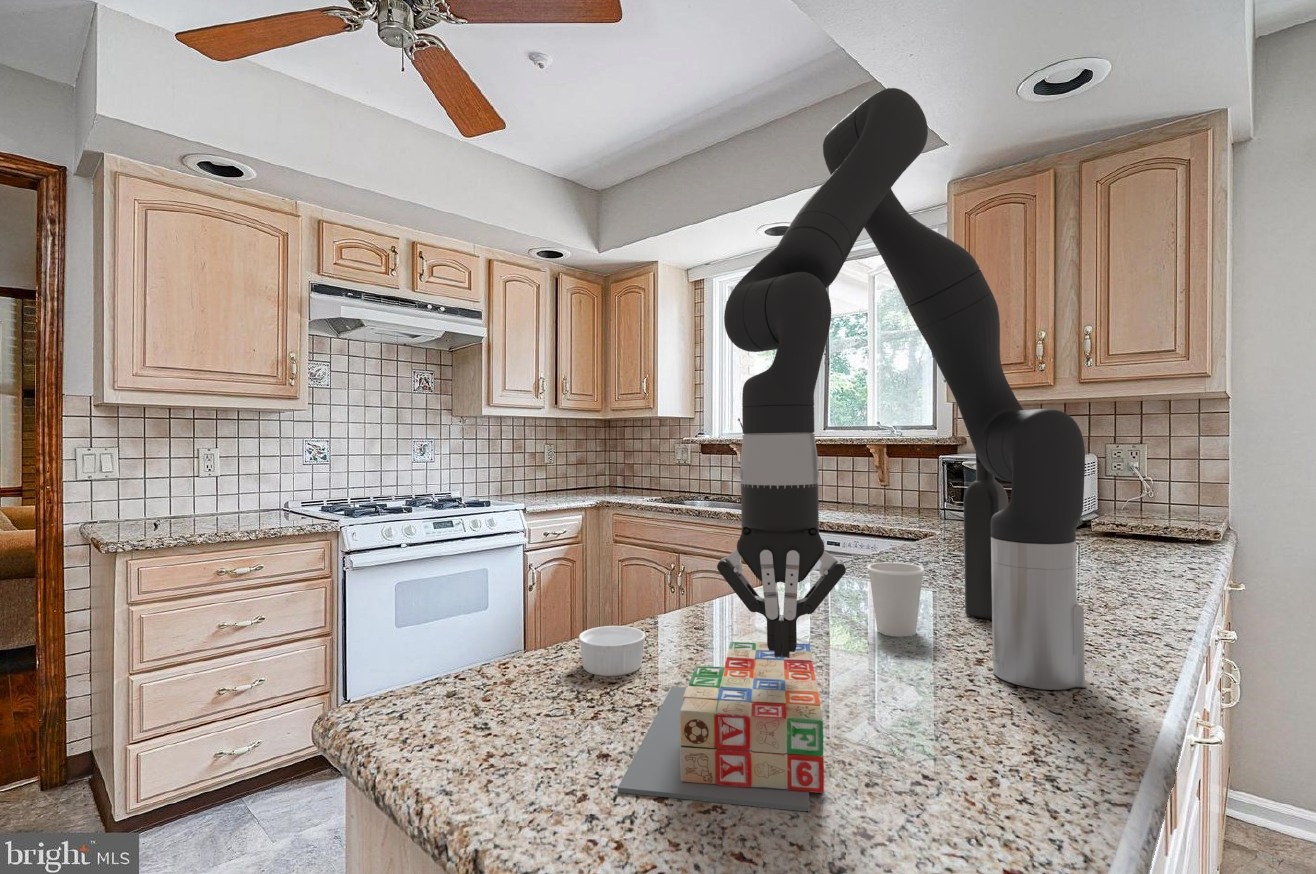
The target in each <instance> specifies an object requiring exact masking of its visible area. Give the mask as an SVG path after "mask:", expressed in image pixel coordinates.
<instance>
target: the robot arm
mask: <svg viewBox="0 0 1316 874" xmlns="http://www.w3.org/2000/svg"><path fill="white" fill-rule="evenodd" d="M928 127H929V126H928V123H927V118H926V116H925V113H924V110H923V109H922V107H921V106H920V104H919V103H918V101H917V100H916V99H915V98H914V97H913V96H912V95H911V94H909V93H908V92H907V91H905V90H903V89H900V88H897V87H888V88H884V89H880V90H879V91H877V92H875V93H874V94H872V95H870V96H869V97H867V98H866V99H865V100H864V101H862V102H861V103H860V104H859V105H858V106H856V107H855V108H854V109H853V110H851V111H850V112H849V113H848V114H847V115H845V117H843V118H842V119H841V120H840V121H839V122H837V124H835V125H834V126H833V127H831V129H830V130H829V131H828V132H827V133H826V135H825V137H824V138H823V142H822V143H823V144H822V155H823V158H824V161H825V165H826V167H827V169H828V172H829V174H830V175H829V177H828V178H827V179H826V180H825V181H824V182H823V183H822V185H821V186H820V187H819V188H817V190H816V191H815V192H814V193H813V194H812V195H811V196H810V198H809V199H808V200H807V201H806V202H804V203H805V204H803V205H802V207H801V209H800V210H799V212H798V213H797V214H796V216H794V219H793V220H792V221H791V223H790V224H789V226H788V228H787V229H786V231H785V233H784V234H783V236H782V237H781V239H780V240H779V243H778V245H776V247H775V248H774V249H773V250H772V251H770V252H769V253H768V254H767V255H765V256H764V257H763V258H761V260H760V261H758V262H757V263H756V265H755V266H754V267H752V268H751V269H750V270H749V271H748V272H747V273H746V274H744V275H743V276H742V278H741V279H740V280H739V281H738V282H737V284H736V285H735V286H734V288H733V290H732V291H731V292H730V294H729V297H728V298H727V302H726V304H725V308H724V313H723V314H724V316H723V320H724V321H723V322H724V323H723V324H724V329H725V332H726V335H727V336H728V339H729V340H730V341H731V343H732V344H733V345H735V346H736V347H737V348H738V349H740V350H743V351H745V352H748V353H749V352H750V353H757V352H758V353H760V352H768V351H776V352H775V355H774V359H773V361H772V363H771V365H770V367H769V368H768V369H766V370H764V371H762V372H760V373H758V374H757V373H756V374H755V375H753V376H751V377H749V378H748V379H747V380H746V381H745V382H744V384H743V387H742V394H741V395H742V397H741V399H742V400H741V402H742V403H741V405H742V406H741V407H742V409H741V410H742V411H741V412H742V413H741V415H742V417H741V418H742V442H741V443H742V444H741V450H740V469H739V479H740V503H741V505H740V506H741V507H740V508H741V512H740V513H741V533H740V537H739V539H738V540H737V542H736V549H734V550H733V551H732V552H731V553H730V554H729V555H727V556H724V557H722V558H721V559H720V560H719V561H718V563H717V565H716V569H717V571H718V573H720V575H721V576H722V578H723V579H724V580H725V581H726V583H727V584H728V586H730V588H732V590H733V592H734V593H735V594H736V595H737V596H738V598H739V600H740V601H741V602H742V603H743V605H745V606H746V608H747V609H748V611H749V612H751V613H758V614H761V615H762V616H764V618H765V620H766V642H767V646H768V649H769V651H774V657H783V658H789V657H790V652H795V650H796V647H797V643H798V642H797V640H798V639H797V638H798V637H797V622H798V621H797V620H798V618H800V617H802V616H804V615H805V616H806V615H812V614H813V613H815V611H816V610H817V608H819V606H820V604H821V603H823V601H824V600H825V599H826V597H827V596H828V595H829V594H830V592H831V591H832V590H833V589H834V588H835V586H836V585H838V582H839V581H840V580H841V579H842V577H844V576H845V573H846V570H847V569H846V565H845V563H844V561H843V560H842V559H838V558H837V559H836V558H835V557H834V556H832V555H831V554H830V553H829V552H827V551H826V550H825V543H824V541H823V539H822V538H821V536H820V525H819V521H820V519H819V518H820V517H819V516H820V514H819V513H820V511H819V510H820V509H819V476H820V473H819V464H818V463H819V460H818V459H819V457H818V451H817V450H818V449H817V445H816V444H817V443H816V435H815V389H816V385H817V382H818V377H819V373H820V369H821V364H822V360H823V356H824V351H825V349H826V345H827V344H826V343H827V341H828V337H829V333H830V328H831V323H832V304H831V299H830V296H829V292H828V290H827V288H829V287H830V286H831V285H832V284H833V282H834V281H835V279H836V278H837V277H838V275H839V273H840V271H841V270H842V268H843V266H844V265H845V263H846V261H847V258H848V256H849V255H850V253H851V251H852V249H853V248H854V245H855V243H856V242H857V240H858V239H859V236H860V235H861V233H862V231H863V230H864V229H865V232H866V233H867V234H868V236H869V237H870V239H871V241H872V242H873V244H874V246H875V248H876V249H877V251H878V253H879V255H880V256H881V258H882V260H883V262H884V264H885V265H886V268H887V269H888V271H889V274H891V276H892V279H893V281H894V283H895V284H896V286H897V289H898V291H899V293H900V295H901V297H902V299H903V302H904V303H905V306H906V307H907V310H908V313H909V314H910V315H911V318H912V319H913V321H914V323H915V325H916V327H917V329H918V330H919V332H920V334H921V336H922V337H923V339H924V341H925V343H926V344H927V346H928V348H929V349H930V352H931V354H932V357H933V358H934V360H935V362H936V364H937V366H938V368H939V370H940V372H941V374H942V376H943V379H944V380H945V381H946V384H947V386H948V388H949V390H950V392H951V393H952V395H953V398H954V400H955V403H956V405H957V407H958V410H959V412H960V415H961V417H962V420H963V422H964V426H965V428H966V430H967V433H968V436H969V438H970V442H971V444H972V446H973V449H974V452H975V455H976V454H977V456H978V458H979V460H980V461H981V463H982V464H983V466H984V467H985V468H986V470H987V471H988V472H990V473H991V474H992V475H993V476H994V478H997V479H998V480H1002V481H1006V482H1010V483H1011V493H1010V500H1009V501H1008V505H1007V507H1006V508H1005V509H1003V510H1001V511H999V512H997V513H995V514H994V515H993V516H992V518H991V572H992V620H991V623H992V627H991V628H992V653H991V655H992V656H991V657H992V672H993V674H994V675H995V676H996V677H997V678H1000V680H1003V681H1005V682H1008V683H1011V684H1014V685H1018V686H1020V687H1021V686H1022V687H1026V688H1031V689H1039V690H1051V691H1053V690H1056V691H1058V690H1069V689H1073V688H1085V687H1086V672H1085V671H1086V669H1085V668H1086V667H1085V666H1086V665H1085V619H1084V618H1085V617H1084V616H1085V613H1084V607H1083V606H1082V605H1081V604H1079V603H1078V601H1077V600H1078V599H1077V598H1078V597H1077V596H1078V594H1077V593H1078V592H1077V591H1078V590H1077V545H1076V544H1077V541H1076V540H1077V539H1076V538H1077V536H1076V535H1077V527H1078V525H1079V522H1080V520H1081V518H1082V514H1083V511H1084V501H1085V500H1084V499H1085V498H1084V497H1085V496H1084V494H1085V470H1086V448H1085V442H1084V438H1083V434H1082V431H1081V429H1080V426H1079V425H1078V423H1077V422H1076V420H1074V418H1073V417H1072V416H1071V415H1069V414H1067V413H1066V412H1064V411H1061V410H1059V409H1053V408H1037V409H1024V407H1022V405H1021V404H1020V402H1019V400H1018V398H1017V397H1016V395H1015V393H1014V392H1013V390H1012V387H1011V385H1010V384H1009V382H1008V380H1007V378H1006V375H1005V372H1004V369H1003V367H1002V362H1001V349H1000V348H1001V346H1000V345H1001V323H1000V322H1001V321H1000V312H999V307H998V306H999V305H998V303H997V301H996V298H995V296H994V294H993V291H992V290H991V288H990V285H989V283H988V282H987V280H986V278H985V276H984V274H983V272H982V270H981V269H980V265H978V263H977V261H976V259H975V258H974V257H973V256H972V254H971V253H969V251H967V250H966V249H965V248H964V247H962V246H961V245H959V244H958V243H956V242H954V241H953V240H951V239H950V238H948V237H946V236H944V235H943V234H941V233H939V232H937V231H935V230H933V229H931V228H930V227H928V226H926V225H924V224H923V223H921V222H920V221H919V220H917V219H916V218H914V217H913V216H912V215H911V214H910V212H908V211H907V210H906V208H905V207H904V206H903V205H902V203H901V202H900V200H899V199H898V198H897V196H896V194H895V193H894V190H892V187H894V185H895V183H896V182H897V181H898V180H899V179H900V177H902V175H903V174H904V172H905V171H906V170H907V169H908V168H909V167H910V166H911V165H912V163H913V162H914V161H915V160H916V159H917V158H918V157H919V156H920V155H921V154H922V153H923V150H924V149H925V146H926V144H927V140H928V137H929V135H928V132H929V131H928V130H929V129H928ZM742 559H743V561H744V562H745V564H746V565H747V567H748V568H749V569H750V571H751V572H752V573H753V575H754V576H755V578H756V579H757V580H759V581H760V582H762V590H763V597H761V596H760V595H759V594H758V592H757V591H756V590H755V589H754V587H753V586H752V585H751V584H750V582H749V581H748V580H747V579H746V577H745V576H744V575H743V573H742V572H743V570H744V565H743V563H742ZM819 560H820V565H819V566H818V567H819V568H818V572H819V574H820V577H818V579H817V581H815V583H814V584H813V586H812V587H811V588H810V589H809V591H808V592H807V593H806V595H805V596H804V597H802V598H801V599H798V590H799V589H798V587H799V586H798V585H799V583H802V582H803V581H804V580H805V579H806V578H807V576H808V575H809V574H810V573H811V572H812V570H813V569H814V567H815V566H816V564H817V563H818V562H819ZM778 583H783V584H784V594H783V595H784V598H783V612H782V613H783V614H781V613H780V612H781V611H780V610H781V609H780V605H779V604H780V602H779V601H780V600H779V592H778V591H779V590H778V588H779V587H778Z"/></svg>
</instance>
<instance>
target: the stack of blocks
mask: <svg viewBox="0 0 1316 874" xmlns="http://www.w3.org/2000/svg"><path fill="white" fill-rule="evenodd" d="M811 652H812V651H811V646H810V643H798V642H797V647H796V650H795V652H790V657H789V658H783V657H774V651H769V649H768V646H767V641H756V642H749V641H747V642H745V641H743V642H741V641H730V642H729V645H728V650H727V654H726V660H725V664H724V666H709V665H708V666H705V665H695V667H694V670H693V672H692V675H691V677H690V679H689V682H688V686H686V687H687V688H686V690H685V693H684V696H683V705H682V708H681V712H680V744H681V747H680V762H681V781H683V782H694V783H708V784H716V785H724V786H736V787H759V788H774V789H787V790H792V791H808V792H809V793H816V794H817V793H820V794H822V793H824V792H825V782H824V781H825V779H824V778H825V771H824V770H825V768H824V765H825V764H824V760H825V759H824V720H823V714H822V709H821V702H820V701H821V700H820V696H819V690H818V685H817V679H816V674H815V670H814V663H813V657H812V653H811Z"/></svg>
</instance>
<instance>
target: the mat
mask: <svg viewBox="0 0 1316 874" xmlns="http://www.w3.org/2000/svg"><path fill="white" fill-rule="evenodd" d="M687 687H688V686H686V687H685V686H671V688H670V689H669V691H668V693H667V695H666V697H665V699H664V700H663V701H662V704H661V706H660V708H659V709H658V712H657V714H656V716H655V717H654V719H653V721H652V723H651V724H650V727H649V729H648V730H647V732H646V735H645V736H644V738H643V740H642V741H641V743H640V745H639V747H638V749H637V751H636V753H635V755H634V756H633V758H632V760H631V761H630V764H629V766H628V768H627V769H626V772H625V773H624V775H623V777H622V778H621V781H620V782H619V785H618V786H617V793H622V794H632V795H640V796H642V795H643V796H651V797H661V798H671V799H678V800H679V799H683V800H689V801H698V802H699V801H701V802H710V803H719V804H720V803H721V804H729V805H730V804H731V805H739V806H747V805H748V806H749V807H759V808H769V809H777V810H788V811H789V810H790V811H798V812H806V811H808V812H807V813H810V792H808V791H792V790H787V789H774V788H759V787H736V786H724V785H716V784H708V783H694V782H683V781H681V762H680V747H681V744H680V712H681V708H682V705H683V696H684V693H685V690H686V688H687ZM751 805H752V806H751ZM748 806H747V807H748Z"/></svg>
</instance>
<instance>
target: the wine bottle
mask: <svg viewBox="0 0 1316 874" xmlns="http://www.w3.org/2000/svg"><path fill="white" fill-rule="evenodd" d="M975 474H976V475H975V480H974V481H973V482H971V483H970V484H969V485H968V486H967V487H966V490H965V491H964V494H963V505H962V506H963V551H964V552H963V557H964V558H963V560H964V562H963V563H964V611H965V612H964V613H965V615H966V616H968V617H972V618H975V619H983V620H986V621H987V620H988V621H992V572H991V518H992V516H993V515H994V514H995V513H997V512H999V511H1001V510H1003V509H1005V508H1006V507H1007V505H1008V504H1009V498H1008V494H1007V491H1006V490H1005V488H1004V486H1003V485H1002V484H1001V483H1000V482H998V481H997V480H996V479H995V478H996V477H995V476H993V475H992V474H991V473H990V472H988V471H987V470H986V468H985V467H984V466H983V464H982V463H981V461H980V460H979V458H978V456H977V454H976V453H975Z"/></svg>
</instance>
